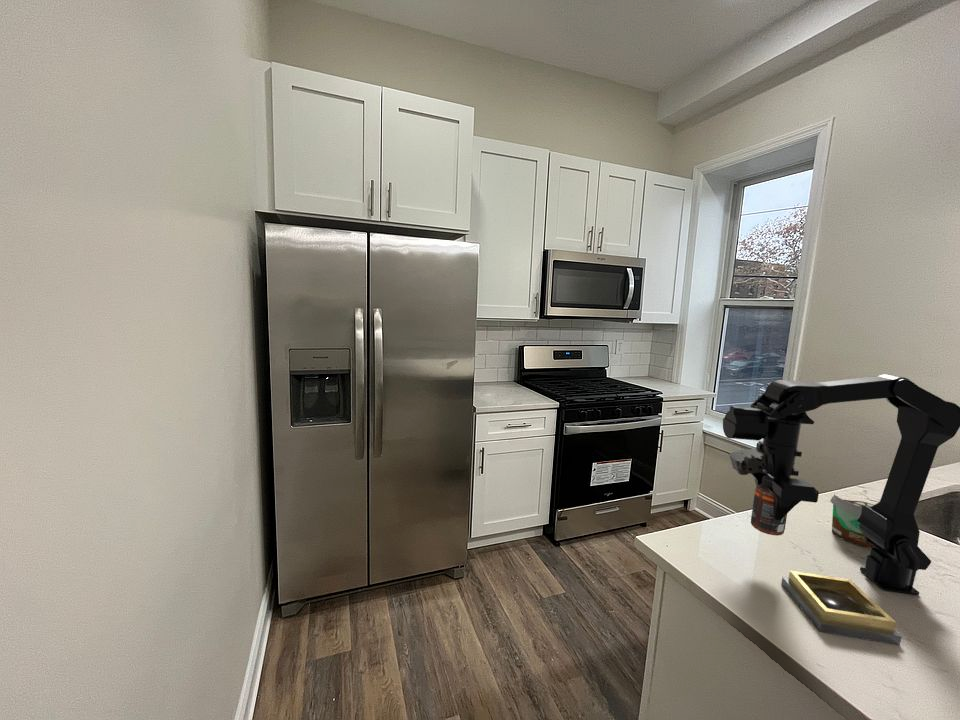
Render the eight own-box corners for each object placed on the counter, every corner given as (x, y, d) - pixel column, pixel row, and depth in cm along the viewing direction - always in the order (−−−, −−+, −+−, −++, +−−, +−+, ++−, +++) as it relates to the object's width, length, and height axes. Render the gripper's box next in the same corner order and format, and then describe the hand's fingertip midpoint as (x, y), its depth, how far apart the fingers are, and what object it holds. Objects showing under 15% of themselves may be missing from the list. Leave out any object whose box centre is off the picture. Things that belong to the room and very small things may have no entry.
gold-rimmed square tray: (848, 593, 79) (851, 577, 78) (899, 645, 67) (904, 626, 66) (781, 583, 81) (784, 567, 80) (819, 631, 69) (823, 613, 68)
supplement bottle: (790, 539, 81) (798, 487, 80) (757, 534, 83) (765, 484, 81) (775, 523, 87) (782, 475, 85) (745, 519, 88) (752, 471, 87)
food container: (835, 543, 96) (842, 505, 94) (824, 530, 101) (831, 493, 100) (902, 557, 91) (911, 517, 90) (887, 542, 97) (895, 504, 95)
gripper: (720, 424, 93) (712, 487, 95) (758, 454, 74) (747, 530, 77) (773, 428, 90) (764, 492, 93) (826, 461, 72) (813, 539, 75)
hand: (769, 511), depth 84 cm, fingers closed on supplement bottle, 6 cm apart
